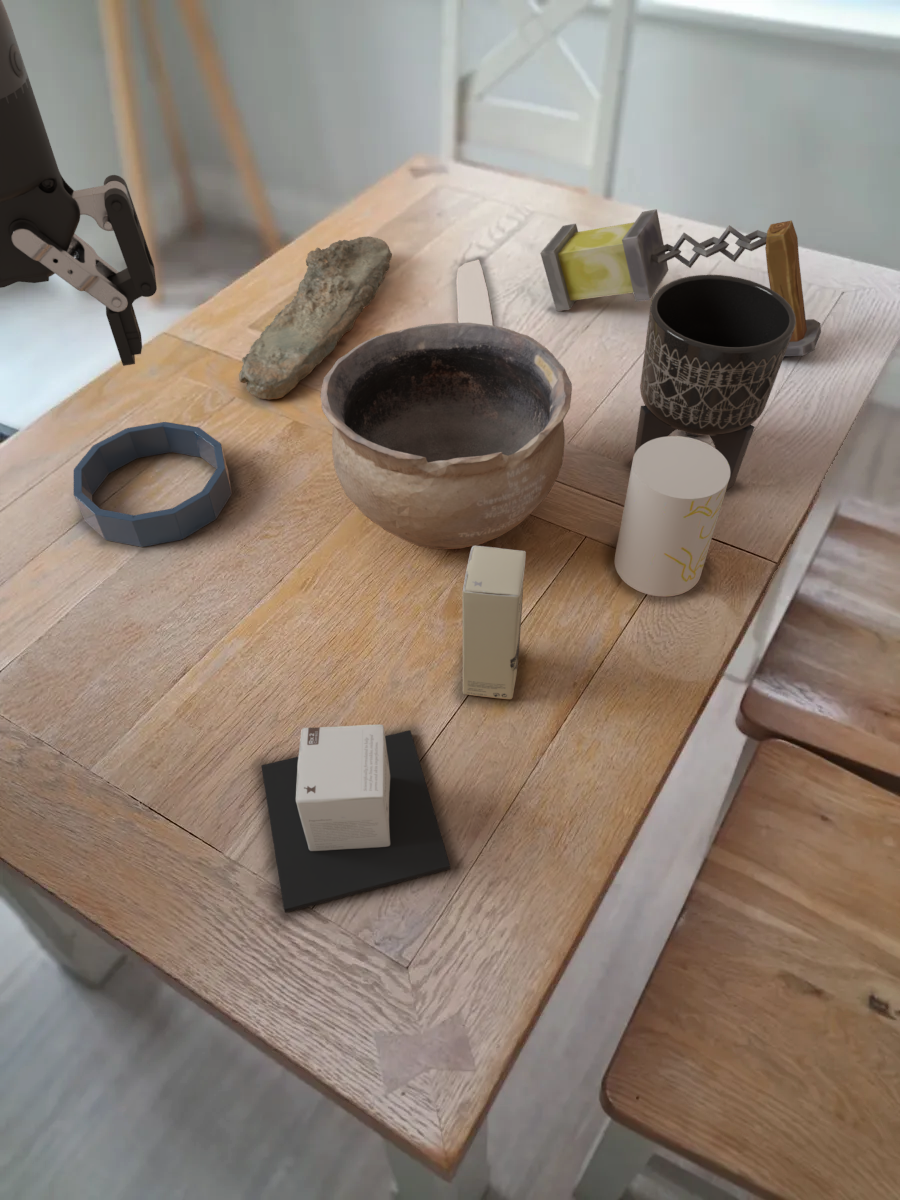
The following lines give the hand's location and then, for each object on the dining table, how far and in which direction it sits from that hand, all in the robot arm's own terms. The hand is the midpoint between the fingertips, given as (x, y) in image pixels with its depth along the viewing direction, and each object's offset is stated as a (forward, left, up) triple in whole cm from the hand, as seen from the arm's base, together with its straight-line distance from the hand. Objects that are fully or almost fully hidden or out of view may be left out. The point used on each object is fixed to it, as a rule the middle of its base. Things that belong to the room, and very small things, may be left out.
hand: (56, 369), depth 55 cm
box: (+26, -8, -30) cm, 41 cm away
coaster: (+12, -18, -30) cm, 37 cm away
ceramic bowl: (+28, +13, -30) cm, 43 cm away
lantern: (+64, +38, -30) cm, 81 cm away
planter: (+54, +13, -30) cm, 63 cm away
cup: (+45, 0, -30) cm, 54 cm away
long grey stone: (+22, +50, -30) cm, 63 cm away
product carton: (+12, -18, -30) cm, 37 cm away
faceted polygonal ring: (0, +23, -30) cm, 38 cm away
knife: (+40, +44, -30) cm, 67 cm away
